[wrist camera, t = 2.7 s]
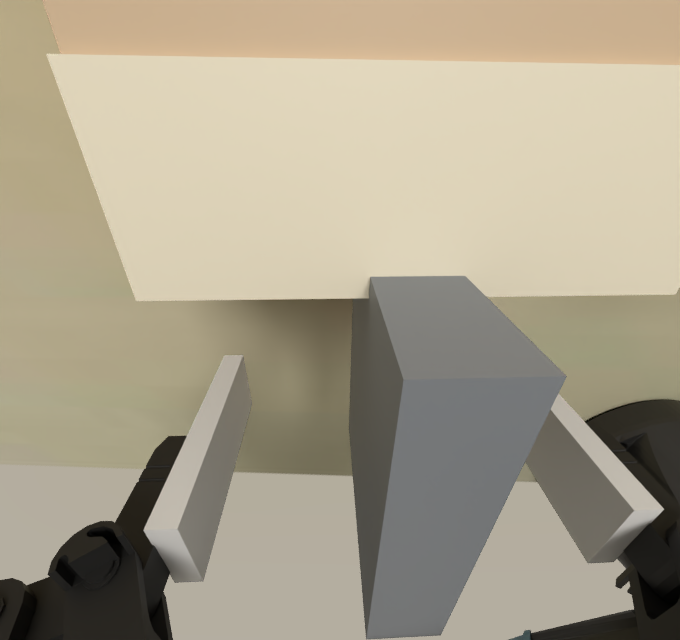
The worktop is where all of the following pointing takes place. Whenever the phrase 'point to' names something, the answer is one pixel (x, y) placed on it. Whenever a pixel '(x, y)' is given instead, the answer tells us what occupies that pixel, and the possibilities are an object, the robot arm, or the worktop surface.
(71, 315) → the worktop surface
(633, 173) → the flap
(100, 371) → the worktop surface
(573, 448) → the robot arm
